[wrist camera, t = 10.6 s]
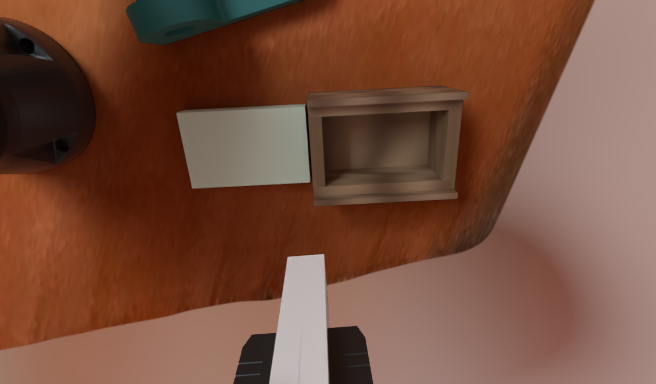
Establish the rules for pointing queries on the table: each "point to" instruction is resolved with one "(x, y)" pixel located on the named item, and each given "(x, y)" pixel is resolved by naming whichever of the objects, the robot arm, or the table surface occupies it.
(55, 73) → the robot arm
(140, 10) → the bracket
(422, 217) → the table surface
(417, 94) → the box
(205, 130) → the lid
